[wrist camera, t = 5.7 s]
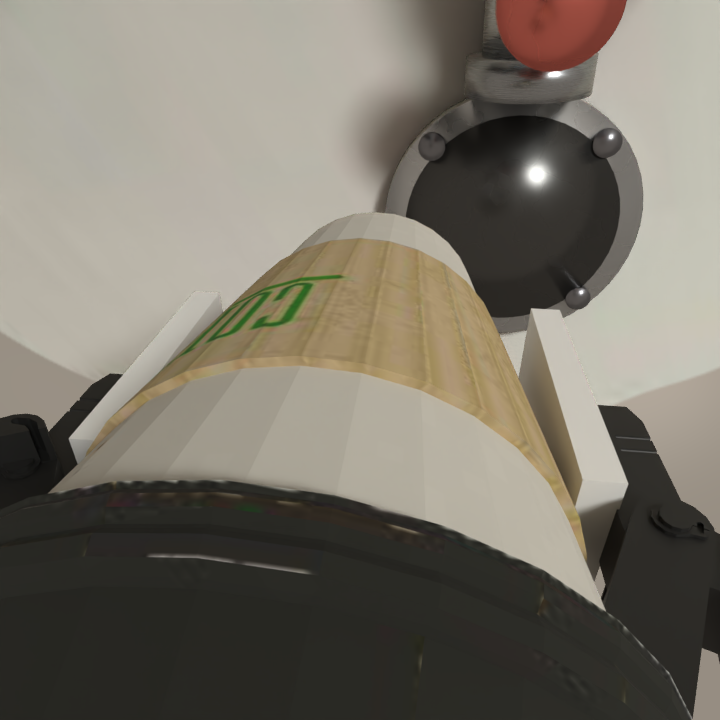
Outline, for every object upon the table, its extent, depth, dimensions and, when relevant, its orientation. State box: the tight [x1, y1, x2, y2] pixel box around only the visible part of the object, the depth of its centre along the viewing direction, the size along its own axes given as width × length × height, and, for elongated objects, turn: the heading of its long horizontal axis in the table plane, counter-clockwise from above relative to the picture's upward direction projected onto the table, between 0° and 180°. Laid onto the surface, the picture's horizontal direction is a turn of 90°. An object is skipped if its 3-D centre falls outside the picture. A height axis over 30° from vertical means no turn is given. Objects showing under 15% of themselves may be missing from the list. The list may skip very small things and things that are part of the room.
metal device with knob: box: [385, 0, 643, 333], centre depth 28 cm, size 20×14×9 cm
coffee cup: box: [0, 212, 693, 720], centre depth 12 cm, size 10×10×15 cm
